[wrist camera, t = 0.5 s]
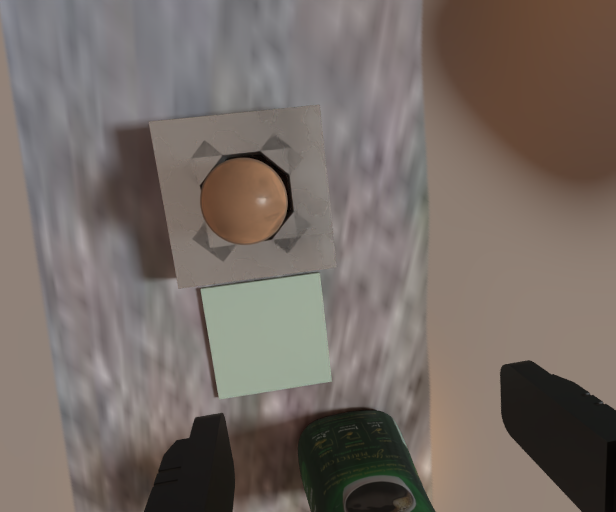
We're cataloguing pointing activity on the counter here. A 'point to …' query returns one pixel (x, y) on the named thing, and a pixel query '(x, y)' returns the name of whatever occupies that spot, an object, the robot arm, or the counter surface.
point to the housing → (236, 143)
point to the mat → (267, 334)
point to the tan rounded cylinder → (243, 201)
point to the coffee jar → (359, 465)
